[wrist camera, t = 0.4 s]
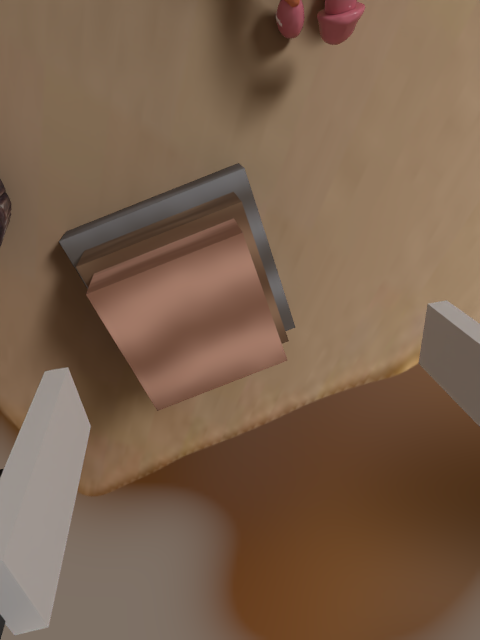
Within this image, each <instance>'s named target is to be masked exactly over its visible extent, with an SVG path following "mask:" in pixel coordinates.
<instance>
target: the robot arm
mask: <svg viewBox="0 0 480 640" xmlns="http://www.w3.org/2000/svg"><path fill="white" fill-rule="evenodd" d="M419 364H420V365H421V366H422V368H423V369H425V371H426V372H427V373H428V374H429V375H430V376H431V377H432V378H433V379H434V380H435V381H436V382H437V383H438V384H439V385H440V386H441V387H442V388H443V389H444V390H445V391H446V392H447V393H448V394H449V395H450V396H451V397H452V398H453V400H454V401H455V402H456V403H458V405H459V406H460V407H461V408H462V409H463V410H464V411H465V412H466V413H467V414H468V415H469V416H470V417H471V418H472V419H473V420H474V421H475V422H476V423H477V424H478V425H479V426H480V324H479V323H478V322H476V321H475V320H473V319H472V318H471V317H469V316H468V315H466V314H465V313H464V312H462V311H461V310H459V309H458V308H457V307H455V306H454V305H452V304H451V303H450V302H448V301H441V302H435V303H429V304H428V305H427V312H426V318H425V325H424V331H423V338H422V345H421V351H420V358H419ZM90 428H91V425H90V423H89V420H88V418H87V415H86V413H85V410H84V407H83V405H82V402H81V400H80V397H79V394H78V392H77V389H76V387H75V384H74V381H73V379H72V376H71V374H70V371H69V368H68V367H67V368H61V369H55V370H50V371H45V372H44V375H43V377H42V380H41V382H40V384H39V387H38V389H37V391H36V394H35V396H34V399H33V401H32V403H31V406H30V408H29V410H28V413H27V415H26V418H25V420H24V422H23V425H22V427H21V430H20V432H19V434H18V437H17V439H16V441H15V444H14V446H13V449H12V451H11V453H10V456H9V458H8V460H7V463H6V465H5V468H4V469H1V470H0V639H1V635H2V632H3V628H4V624H6V625H7V627H8V628H9V629H10V630H11V631H12V633H13V634H14V635H18V634H22V633H26V632H30V631H35V630H39V629H43V628H47V627H49V622H50V618H51V613H52V608H53V603H54V599H55V593H56V589H57V584H58V580H59V575H60V570H61V565H62V561H63V556H64V551H65V546H66V542H67V537H68V532H69V528H70V523H71V518H72V513H73V509H74V504H75V499H76V494H77V490H78V485H79V480H80V475H81V471H82V466H83V461H84V456H85V452H86V447H87V442H88V437H89V433H90Z"/></svg>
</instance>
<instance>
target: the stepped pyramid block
mask: <svg viewBox="0 0 480 640" xmlns="http://www.w3.org/2000/svg"><path fill="white" fill-rule="evenodd" d="M59 243H60V244H61V246H62V248H63V249H64V251H65V252H66V254H67V256H68V257H69V259H70V261H71V262H72V264H73V266H74V267H75V269H76V271H77V272H78V274H79V275H80V277H81V279H82V280H83V282H84V284H85V285H86V287H87V289H88V290H87V293H86V296H87V297H88V299H89V300H90V302H91V304H92V305H93V307H94V309H95V310H96V312H97V313H98V315H99V317H100V318H101V320H102V322H103V323H104V325H105V326H106V328H107V330H108V331H109V333H110V335H111V336H112V338H113V339H114V341H115V343H116V344H117V346H118V347H119V349H120V351H121V352H122V354H123V356H124V357H125V359H126V360H127V362H128V364H129V365H130V367H131V369H132V370H133V372H134V373H135V375H136V377H137V378H138V380H139V382H140V383H141V385H142V386H143V388H144V390H145V391H146V393H147V395H148V396H149V398H150V399H151V401H152V403H153V404H154V406H155V408H156V409H157V411H158V410H161V409H163V408H166V407H168V406H171V405H174V404H176V403H179V402H181V401H184V400H186V399H189V398H192V397H194V396H197V395H199V394H202V393H204V392H207V391H210V390H212V389H215V388H217V387H220V386H223V385H225V384H228V383H230V382H233V381H235V380H238V379H241V378H243V377H246V376H248V375H251V374H253V373H256V372H259V371H261V370H264V369H266V368H269V367H272V366H274V365H277V364H279V363H282V362H284V361H287V358H286V355H285V352H284V349H283V346H282V343H285V342H287V341H288V338H287V335H286V332H285V331H287V330H290V329H292V328H295V325H294V322H293V319H292V315H291V312H290V309H289V306H288V303H287V300H286V297H285V294H284V290H283V287H282V284H281V281H280V278H279V275H278V272H277V269H276V265H275V262H274V259H273V256H272V253H271V250H270V247H269V244H268V240H267V237H266V234H265V231H264V228H263V225H262V222H261V219H260V215H259V212H258V209H257V206H256V203H255V200H254V197H253V194H252V190H251V187H250V184H249V181H248V178H247V175H246V172H245V169H244V167H243V166H241V165H240V164H239V163H238V164H235V165H233V166H230V167H228V168H225V169H223V170H220V171H218V172H215V173H212V174H210V175H207V176H205V177H202V178H200V179H197V180H195V181H192V182H190V183H187V184H185V185H182V186H180V187H177V188H175V189H172V190H170V191H167V192H165V193H162V194H160V195H157V196H155V197H152V198H150V199H147V200H145V201H142V202H140V203H137V204H135V205H132V206H130V207H127V208H124V209H122V210H119V211H117V212H114V213H112V214H109V215H107V216H104V217H102V218H99V219H97V220H94V221H92V222H89V223H87V224H84V225H82V226H79V227H77V228H74V229H72V230H69V231H67V232H66V233H65V234H64V235H63V237H62V238H61V239H60V241H59Z"/></svg>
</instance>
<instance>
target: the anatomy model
mask: <svg viewBox="0 0 480 640" xmlns="http://www.w3.org/2000/svg"><path fill="white" fill-rule="evenodd" d="M364 9H365V5H364V4H362V3H359V2H357V0H325V9H323V10H321V11H319V12H318V15H317V18H318V22H319V32H320V36H321V38H322V39H323V41H325V42H326V43H328V44H331V45H337V44H340V43H342V42H344V41H345V40H346V39H347V38H348V37H349V36H350V35H351V34H352V33H353V31H354V29H355V26H356V24H357V22H358V20H359V19H360V17H361V16H362V14H363V12H364ZM304 18H305V17H304V7H303V3H302V1H301V0H281V1H280V3H279V5H278V9H277V11H276V22H277V26H278V29H279V31H280V33H281V34H282V35H283V36H285V37H286V38H296V37H297V36H298V35H299V33H300V32H301V30H302V28H303V23H304Z"/></svg>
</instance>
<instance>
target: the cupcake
mask: <svg viewBox="0 0 480 640" xmlns="http://www.w3.org/2000/svg"><path fill="white" fill-rule="evenodd" d="M10 212H11V202H10V199H9V197H8V195H7V194H6V193H5V187H4V185H3V183H2V181H1V180H0V246H1V244H2V241H3V237H4V235H5V231H6V229H7V226H8V224H9V221H10V216H11V213H10Z"/></svg>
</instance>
